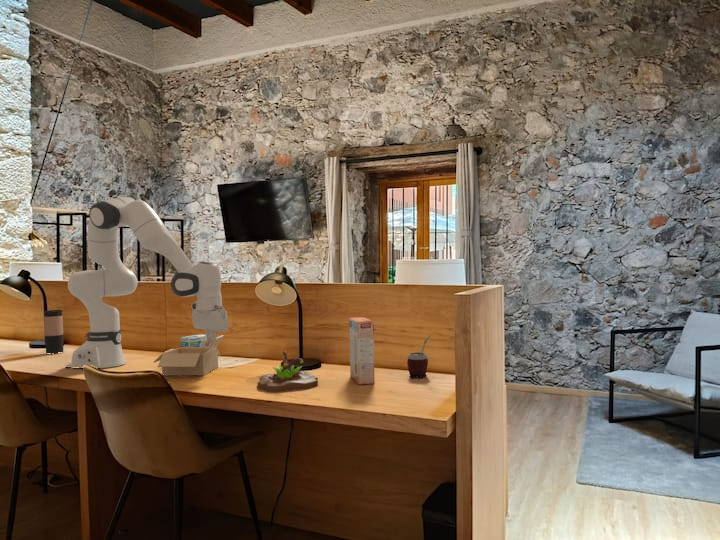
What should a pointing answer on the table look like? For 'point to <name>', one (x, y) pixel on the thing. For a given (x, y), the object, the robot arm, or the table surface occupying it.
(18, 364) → the table surface
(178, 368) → the carton
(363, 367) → the cracker box
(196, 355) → the flap
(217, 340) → the flap
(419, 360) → the mate gourd
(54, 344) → the travel mug
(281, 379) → the plant
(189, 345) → the light bulb box
